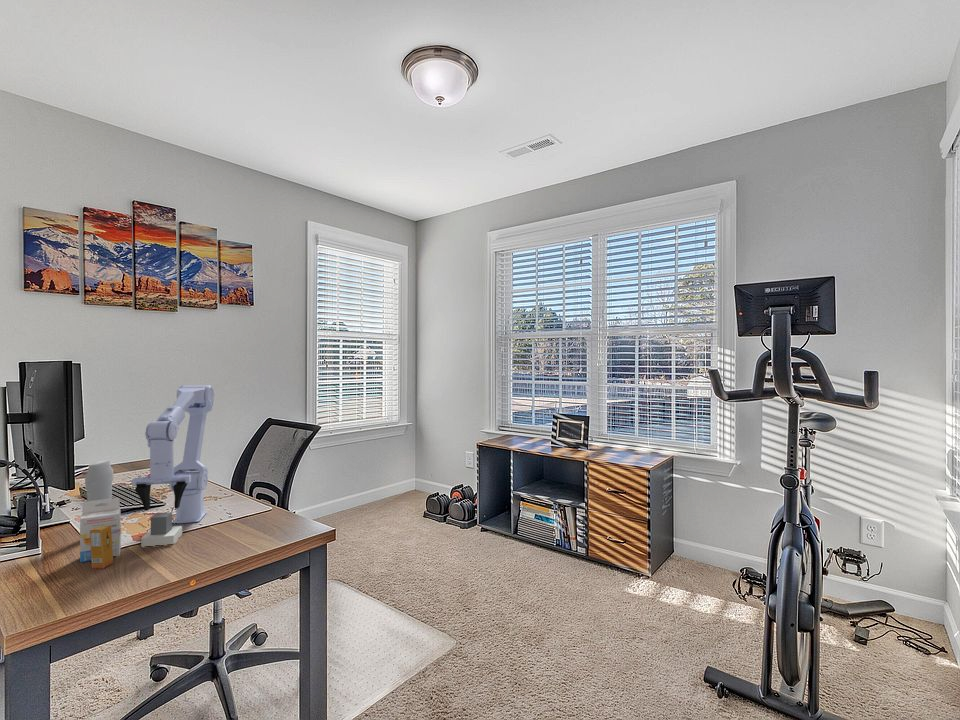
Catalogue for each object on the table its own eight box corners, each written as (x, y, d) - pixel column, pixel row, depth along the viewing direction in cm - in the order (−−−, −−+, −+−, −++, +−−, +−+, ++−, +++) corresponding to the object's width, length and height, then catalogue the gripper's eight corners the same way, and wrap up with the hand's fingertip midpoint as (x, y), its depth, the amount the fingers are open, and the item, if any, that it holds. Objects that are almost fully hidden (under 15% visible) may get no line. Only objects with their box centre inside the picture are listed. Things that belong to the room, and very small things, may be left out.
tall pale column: (93, 540, 143) (92, 464, 142) (79, 540, 143) (78, 464, 142) (119, 527, 153) (119, 457, 153) (106, 527, 153) (105, 456, 153)
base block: (151, 538, 145) (151, 528, 145) (182, 535, 148) (182, 525, 148) (141, 549, 138) (141, 538, 138) (173, 545, 140) (173, 535, 140)
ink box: (79, 563, 127) (78, 507, 127) (82, 556, 132) (81, 502, 131) (120, 556, 132) (119, 501, 132) (121, 549, 136) (120, 496, 136)
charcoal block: (156, 529, 144) (156, 512, 144) (171, 529, 145) (172, 512, 145) (150, 534, 140) (150, 517, 140) (166, 534, 141) (166, 517, 141)
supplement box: (100, 563, 128) (100, 524, 127) (113, 563, 127) (112, 525, 127) (89, 568, 124) (89, 529, 124) (103, 569, 124) (102, 529, 124)
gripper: (127, 466, 136) (127, 515, 137) (185, 463, 140) (186, 510, 141) (137, 461, 143) (137, 507, 144) (193, 458, 147) (193, 503, 147)
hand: (162, 508), depth 143 cm, fingers open, 7 cm apart
